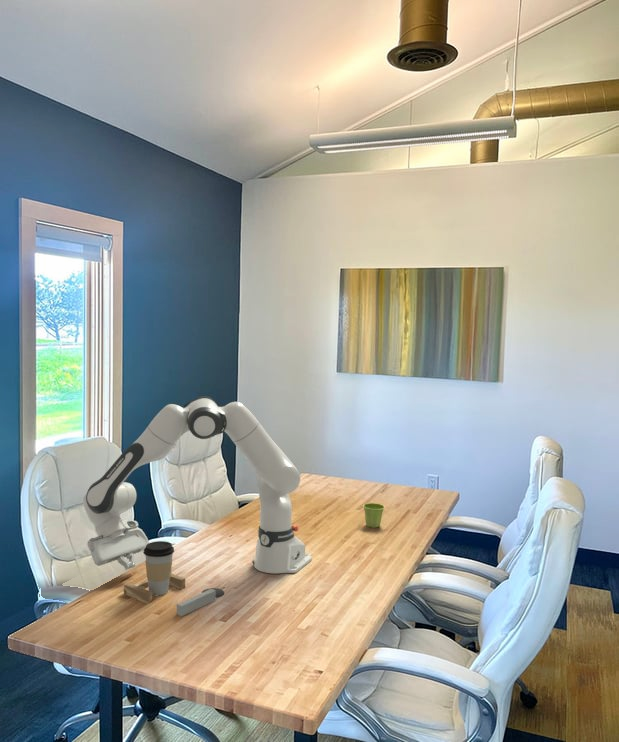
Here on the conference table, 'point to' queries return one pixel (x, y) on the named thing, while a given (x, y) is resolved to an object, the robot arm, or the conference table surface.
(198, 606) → the bar
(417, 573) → the conference table surface
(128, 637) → the conference table surface
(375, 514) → the plant pot
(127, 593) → the oak cubby
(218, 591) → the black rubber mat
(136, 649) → the conference table surface
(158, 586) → the coffee cup
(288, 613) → the conference table surface
